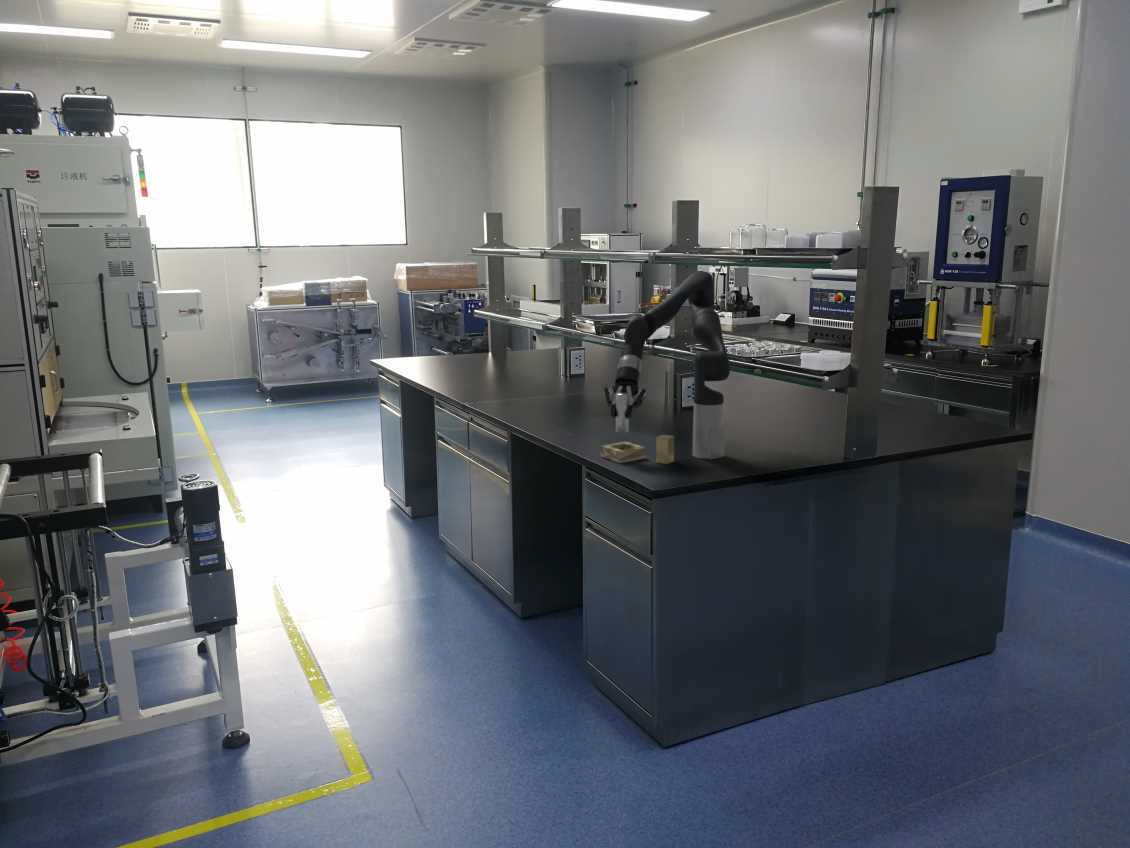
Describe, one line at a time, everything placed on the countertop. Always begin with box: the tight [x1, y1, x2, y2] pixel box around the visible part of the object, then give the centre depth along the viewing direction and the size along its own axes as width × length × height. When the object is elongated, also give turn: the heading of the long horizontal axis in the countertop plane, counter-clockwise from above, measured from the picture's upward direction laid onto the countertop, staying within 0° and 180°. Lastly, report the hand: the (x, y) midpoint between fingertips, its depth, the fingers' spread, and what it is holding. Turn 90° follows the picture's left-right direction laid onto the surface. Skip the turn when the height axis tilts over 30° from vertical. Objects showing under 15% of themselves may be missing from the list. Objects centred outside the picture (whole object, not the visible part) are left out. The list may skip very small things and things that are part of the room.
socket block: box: [600, 440, 646, 464], centre depth 268 cm, size 10×10×4 cm
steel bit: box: [615, 393, 630, 434], centre depth 266 cm, size 4×4×12 cm
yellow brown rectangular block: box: [655, 434, 675, 465], centre depth 262 cm, size 4×4×8 cm
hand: (620, 416), depth 265 cm, fingers closed on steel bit, 4 cm apart
